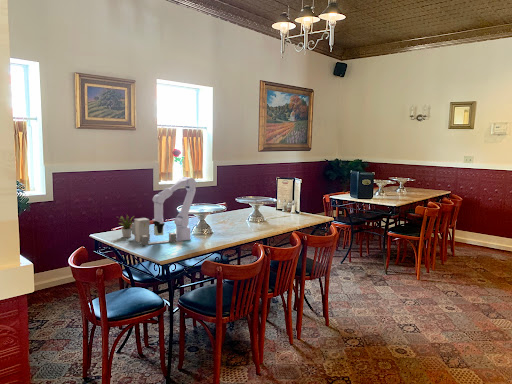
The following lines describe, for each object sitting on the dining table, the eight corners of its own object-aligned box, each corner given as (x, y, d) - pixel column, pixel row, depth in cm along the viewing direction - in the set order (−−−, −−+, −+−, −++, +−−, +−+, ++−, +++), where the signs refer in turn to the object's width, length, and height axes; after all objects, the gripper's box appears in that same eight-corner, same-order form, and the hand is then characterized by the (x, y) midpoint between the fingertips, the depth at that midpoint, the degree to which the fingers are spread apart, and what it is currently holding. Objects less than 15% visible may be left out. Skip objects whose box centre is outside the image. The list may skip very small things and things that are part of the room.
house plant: (112, 239, 267) (112, 216, 265) (116, 235, 281) (115, 212, 279) (134, 239, 270) (133, 216, 268) (136, 234, 284) (136, 212, 282)
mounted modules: (173, 239, 268) (173, 232, 267) (176, 241, 263) (176, 233, 263) (141, 242, 257) (141, 235, 256) (143, 244, 253) (142, 236, 252)
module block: (161, 233, 263) (161, 225, 262) (163, 235, 259) (163, 226, 258) (154, 234, 260) (154, 225, 260) (155, 235, 256) (155, 226, 256)
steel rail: (175, 240, 268) (175, 239, 268) (177, 242, 264) (177, 240, 264) (140, 244, 256) (140, 243, 256) (141, 245, 253) (141, 244, 253)
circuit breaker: (141, 236, 277) (140, 216, 275) (150, 240, 266) (149, 219, 264) (130, 238, 272) (130, 217, 270) (139, 242, 261) (139, 220, 259)
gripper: (149, 211, 262) (150, 230, 264) (155, 214, 249) (155, 235, 251) (160, 210, 265) (160, 229, 267) (166, 214, 253) (166, 234, 254)
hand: (158, 232), depth 259 cm, fingers closed on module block, 4 cm apart
